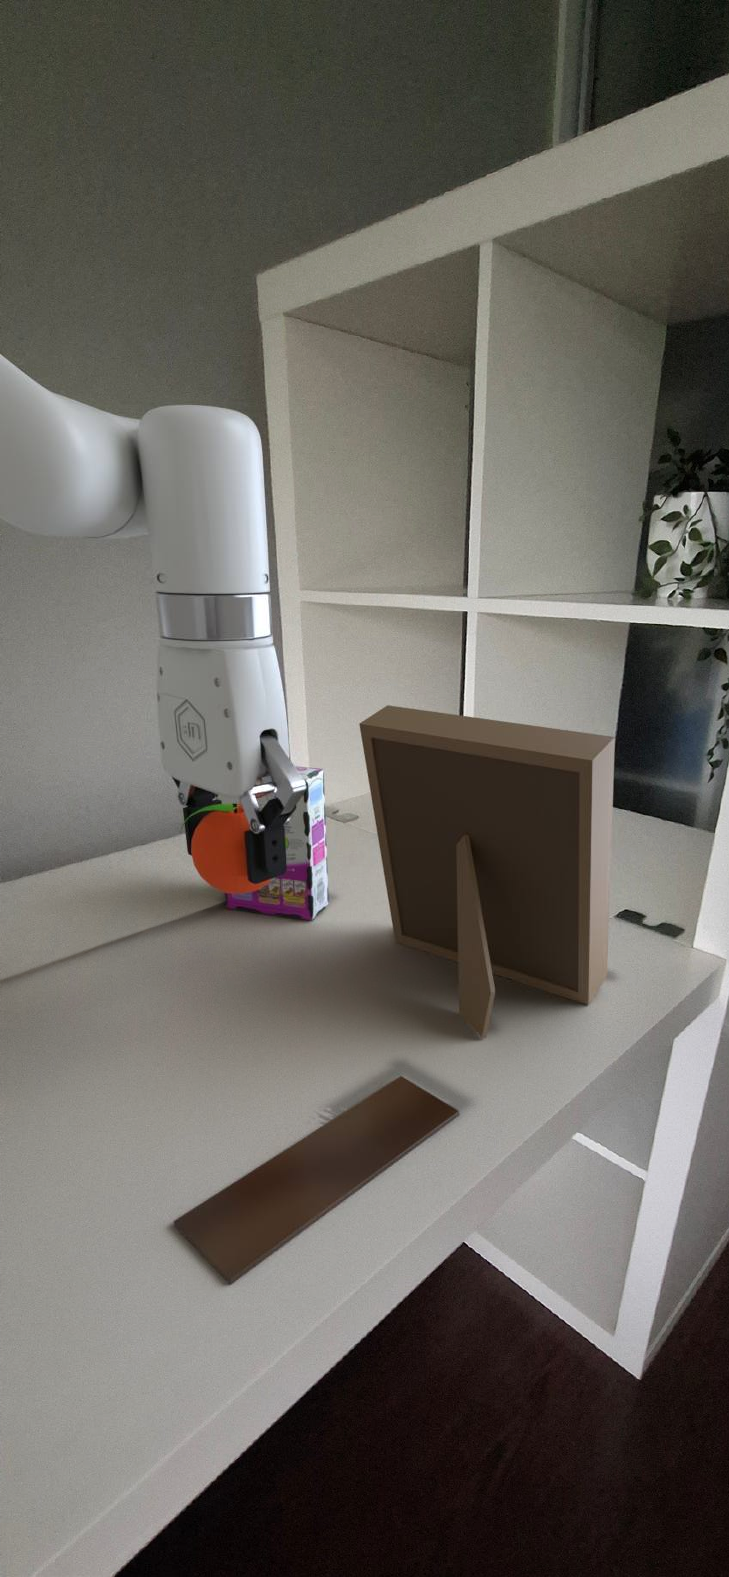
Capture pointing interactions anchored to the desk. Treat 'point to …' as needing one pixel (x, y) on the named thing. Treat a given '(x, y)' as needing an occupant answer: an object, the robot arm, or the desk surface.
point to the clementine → (223, 849)
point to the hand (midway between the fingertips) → (236, 862)
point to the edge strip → (311, 1177)
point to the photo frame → (495, 848)
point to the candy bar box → (295, 859)
